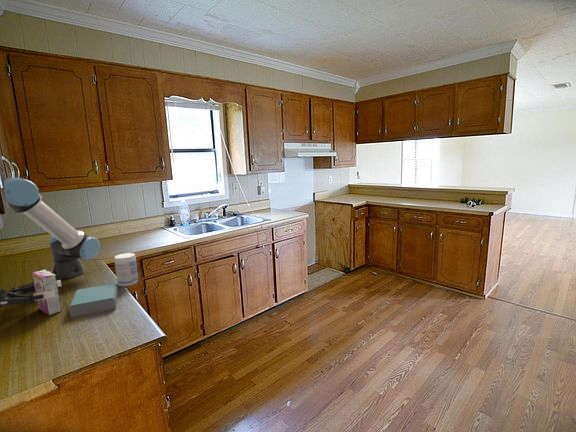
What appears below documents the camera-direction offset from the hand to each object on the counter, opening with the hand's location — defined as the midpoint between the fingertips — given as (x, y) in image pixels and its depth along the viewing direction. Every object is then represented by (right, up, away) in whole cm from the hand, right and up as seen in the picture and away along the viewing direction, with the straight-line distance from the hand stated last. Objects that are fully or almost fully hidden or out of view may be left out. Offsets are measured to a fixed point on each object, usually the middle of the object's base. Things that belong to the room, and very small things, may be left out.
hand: (57, 288), depth 130 cm
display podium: (+13, -8, +5) cm, 16 cm away
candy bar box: (-3, -9, 0) cm, 10 cm away
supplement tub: (+15, -4, +28) cm, 32 cm away
